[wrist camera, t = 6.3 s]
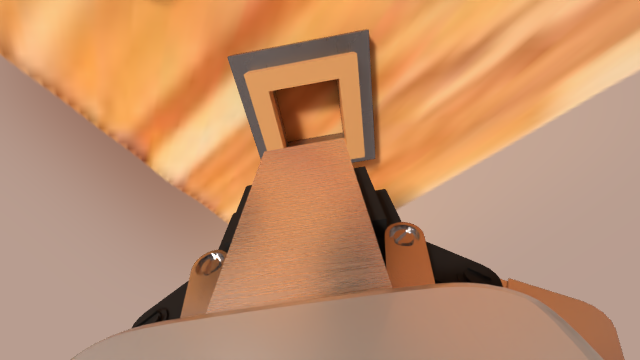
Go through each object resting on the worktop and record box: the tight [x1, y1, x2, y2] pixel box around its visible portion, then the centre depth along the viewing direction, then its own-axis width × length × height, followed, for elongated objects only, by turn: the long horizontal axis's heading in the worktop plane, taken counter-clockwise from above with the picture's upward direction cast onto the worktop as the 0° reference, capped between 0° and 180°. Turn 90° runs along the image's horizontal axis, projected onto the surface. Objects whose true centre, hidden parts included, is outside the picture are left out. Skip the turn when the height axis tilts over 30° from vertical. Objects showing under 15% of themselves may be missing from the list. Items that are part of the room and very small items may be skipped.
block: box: [206, 138, 392, 314], centre depth 10 cm, size 4×4×10 cm
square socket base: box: [228, 30, 375, 162], centre depth 25 cm, size 13×13×4 cm
